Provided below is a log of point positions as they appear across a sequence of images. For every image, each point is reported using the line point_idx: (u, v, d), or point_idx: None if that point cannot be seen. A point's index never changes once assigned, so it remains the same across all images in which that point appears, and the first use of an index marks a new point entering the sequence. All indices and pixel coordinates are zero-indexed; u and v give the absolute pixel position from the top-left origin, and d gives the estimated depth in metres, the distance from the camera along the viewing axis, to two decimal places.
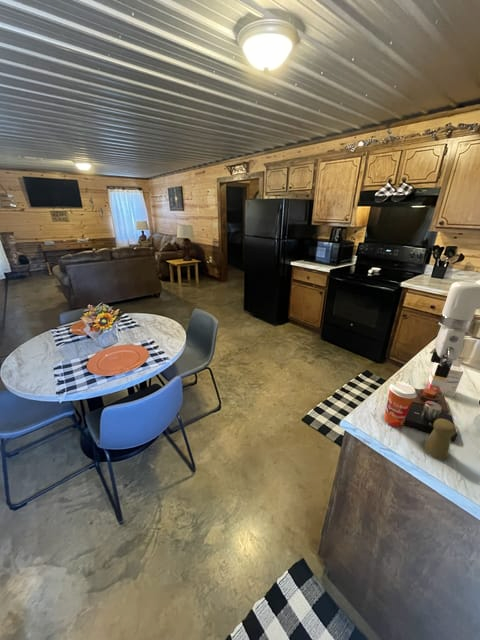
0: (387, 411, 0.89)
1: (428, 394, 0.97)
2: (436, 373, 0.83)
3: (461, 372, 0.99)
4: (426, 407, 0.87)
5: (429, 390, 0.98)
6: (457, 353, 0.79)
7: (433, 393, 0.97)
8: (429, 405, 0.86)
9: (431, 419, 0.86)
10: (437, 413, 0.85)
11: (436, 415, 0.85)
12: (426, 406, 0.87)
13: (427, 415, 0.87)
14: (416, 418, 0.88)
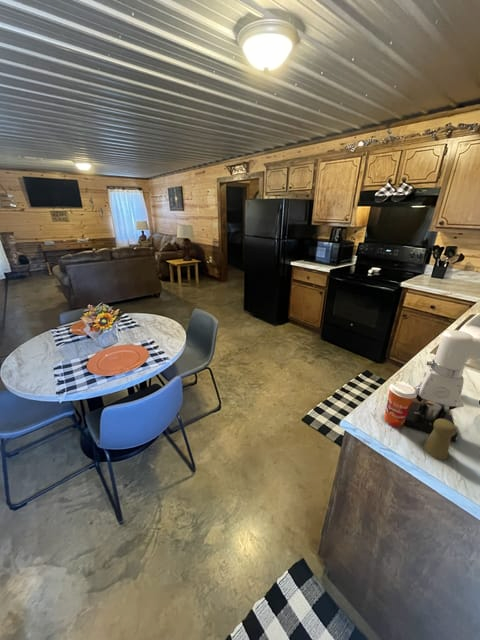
0: (387, 411, 0.89)
1: None
2: None
3: None
4: (426, 407, 0.87)
5: None
6: (421, 389, 0.85)
7: None
8: (429, 405, 0.86)
9: (431, 419, 0.86)
10: (437, 413, 0.85)
11: (436, 415, 0.85)
12: (426, 406, 0.87)
13: (427, 415, 0.87)
14: (416, 418, 0.88)
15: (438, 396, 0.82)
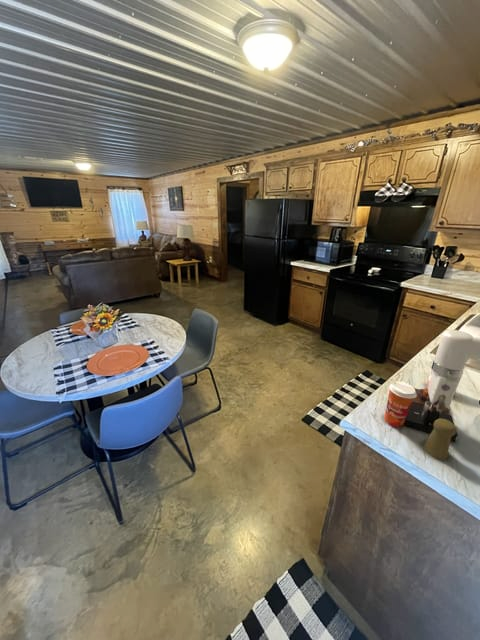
0: (387, 411, 0.89)
1: None
2: (426, 417, 0.86)
3: None
4: None
5: None
6: (449, 401, 0.79)
7: None
8: None
9: None
10: None
11: None
12: None
13: None
14: (416, 418, 0.88)
15: None
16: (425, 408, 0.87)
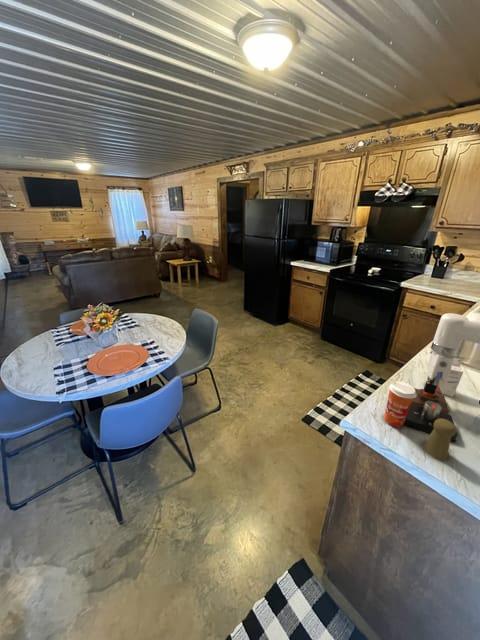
0: (387, 411, 0.89)
1: (428, 395, 0.97)
2: (425, 390, 0.98)
3: (461, 372, 0.99)
4: (438, 412, 0.85)
5: None
6: (446, 377, 0.89)
7: (433, 394, 0.97)
8: (437, 408, 0.85)
9: None
10: None
11: None
12: (437, 411, 0.85)
13: None
14: (416, 418, 0.88)
15: None
16: (425, 408, 0.87)
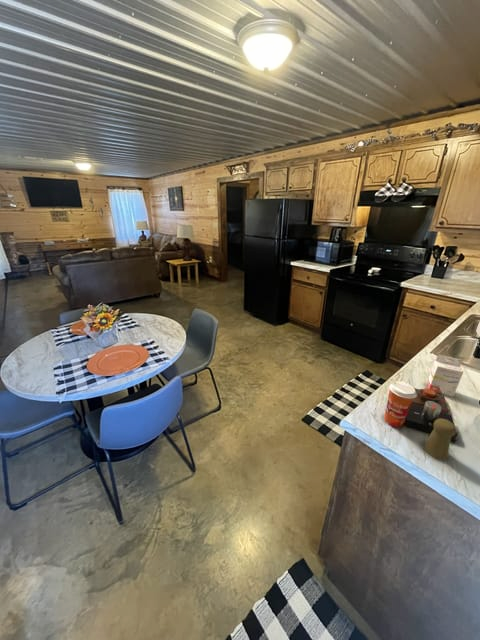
0: (387, 411, 0.89)
1: (428, 394, 0.97)
2: (475, 355, 0.88)
3: (461, 372, 0.99)
4: (438, 412, 0.85)
5: (429, 390, 0.98)
6: None
7: (433, 393, 0.97)
8: (437, 408, 0.85)
9: None
10: None
11: None
12: (437, 411, 0.85)
13: None
14: (416, 418, 0.88)
15: None
16: (425, 408, 0.87)
